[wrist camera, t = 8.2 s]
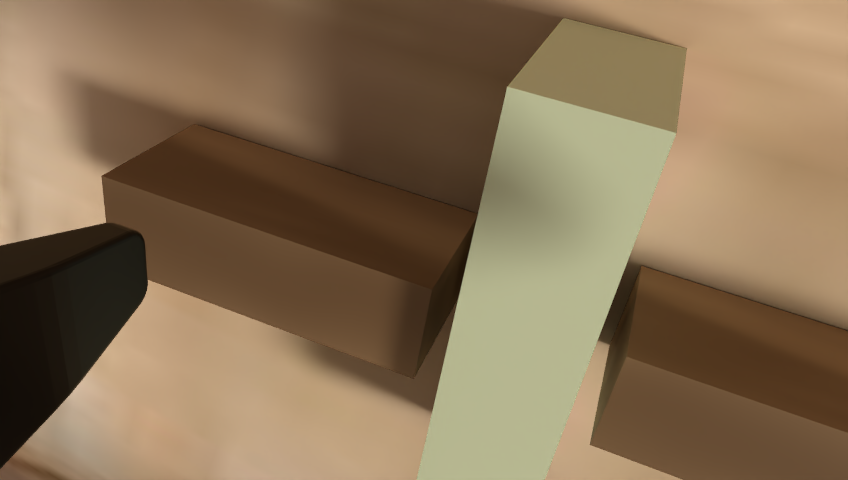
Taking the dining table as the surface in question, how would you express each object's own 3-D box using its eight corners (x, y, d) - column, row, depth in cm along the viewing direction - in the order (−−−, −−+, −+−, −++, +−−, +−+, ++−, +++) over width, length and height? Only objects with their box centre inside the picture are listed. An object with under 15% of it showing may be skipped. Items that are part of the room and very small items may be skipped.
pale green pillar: (540, 450, 21) (497, 604, 16) (459, 420, 21) (398, 561, 17) (687, 46, 14) (675, 133, 10) (564, 16, 15) (507, 86, 10)
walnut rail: (954, 464, 16) (1006, 600, 13) (196, 204, 20) (110, 265, 17) (1021, 385, 15) (1094, 517, 12) (194, 123, 19) (102, 175, 16)
